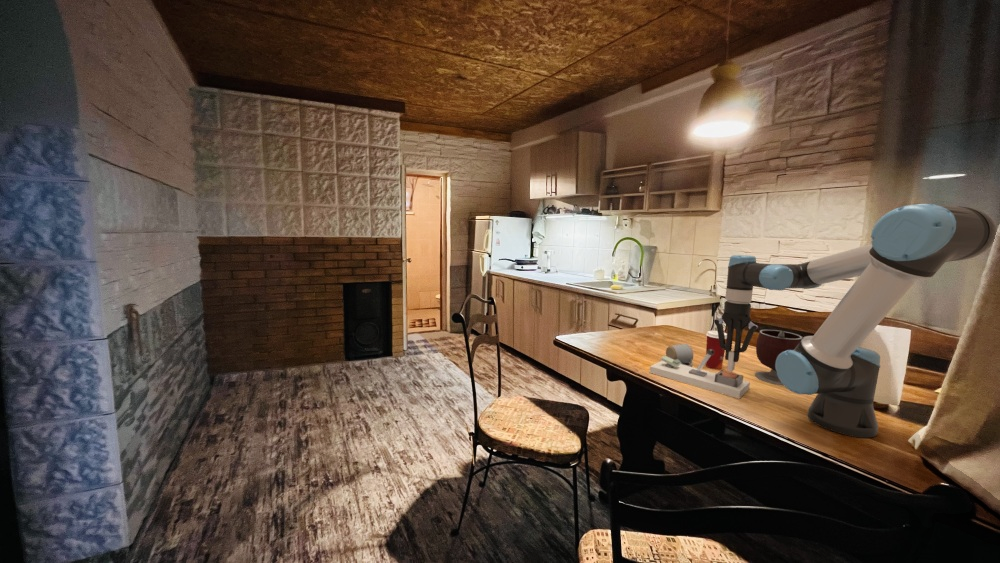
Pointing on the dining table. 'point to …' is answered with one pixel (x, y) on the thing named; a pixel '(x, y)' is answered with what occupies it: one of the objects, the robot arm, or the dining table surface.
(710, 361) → the paper cup
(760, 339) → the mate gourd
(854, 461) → the dining table surface
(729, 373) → the terracotta button
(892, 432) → the dining table surface
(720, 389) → the panel
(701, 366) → the metal lever
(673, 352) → the ceramic mug
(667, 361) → the green rocker
